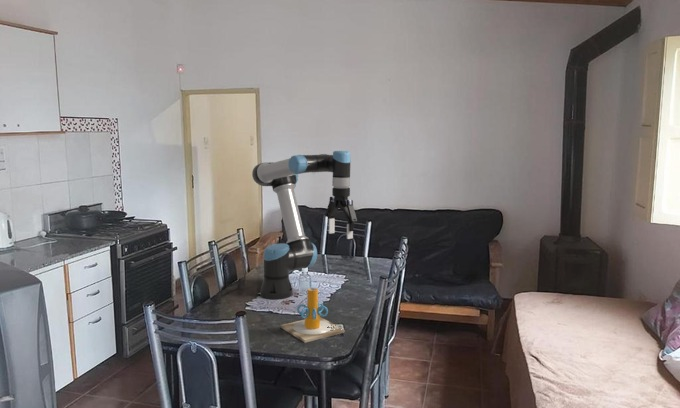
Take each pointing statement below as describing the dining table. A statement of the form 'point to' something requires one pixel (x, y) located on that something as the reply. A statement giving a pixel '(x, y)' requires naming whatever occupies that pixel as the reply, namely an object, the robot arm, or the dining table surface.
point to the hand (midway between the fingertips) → (340, 235)
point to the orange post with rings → (312, 310)
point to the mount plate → (311, 330)
